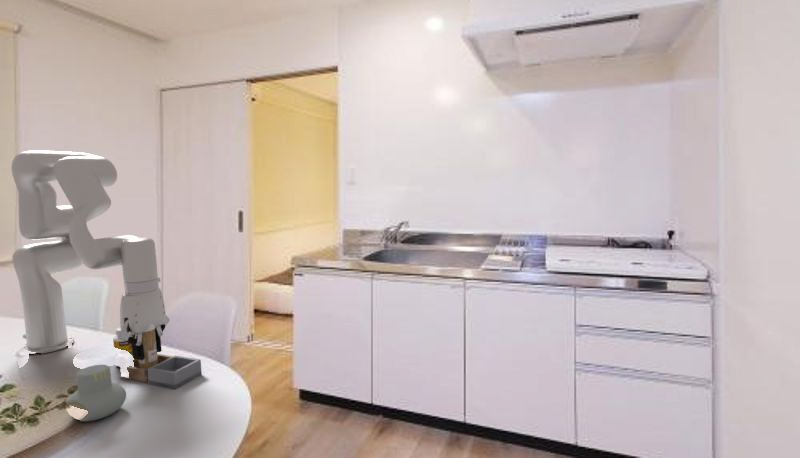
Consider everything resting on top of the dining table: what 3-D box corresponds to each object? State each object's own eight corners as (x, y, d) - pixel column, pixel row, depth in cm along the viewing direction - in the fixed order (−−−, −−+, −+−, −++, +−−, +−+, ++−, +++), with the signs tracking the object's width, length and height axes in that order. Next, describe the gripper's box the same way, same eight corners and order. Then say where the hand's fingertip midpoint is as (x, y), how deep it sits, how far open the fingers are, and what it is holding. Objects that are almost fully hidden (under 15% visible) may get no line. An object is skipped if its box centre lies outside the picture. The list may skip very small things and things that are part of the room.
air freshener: (133, 408, 98) (129, 365, 96) (97, 428, 90) (92, 382, 89) (98, 400, 101) (94, 358, 100) (60, 419, 94) (55, 374, 92)
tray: (148, 384, 109) (147, 368, 108) (176, 370, 117) (175, 355, 116) (175, 389, 106) (174, 373, 106) (201, 374, 114) (200, 359, 114)
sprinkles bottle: (160, 373, 115) (155, 323, 113) (139, 377, 113) (135, 326, 111) (158, 367, 119) (154, 318, 117) (138, 371, 116) (134, 321, 115)
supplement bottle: (118, 370, 117) (114, 333, 116) (113, 364, 121) (110, 328, 120) (142, 364, 121) (138, 328, 120) (136, 358, 125) (133, 323, 124)
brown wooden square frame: (120, 377, 113) (119, 366, 113) (150, 363, 121) (150, 352, 121) (147, 382, 110) (146, 370, 110) (176, 367, 118) (175, 356, 118)
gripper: (158, 278, 122) (163, 342, 124) (99, 293, 106) (106, 366, 109) (179, 279, 120) (184, 345, 122) (122, 296, 104) (129, 370, 106)
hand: (147, 354), depth 115 cm, fingers closed on sprinkles bottle, 4 cm apart
